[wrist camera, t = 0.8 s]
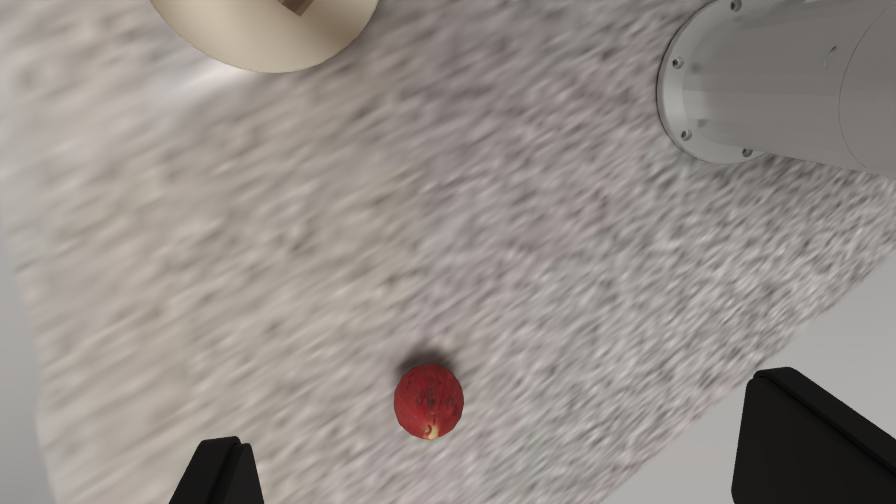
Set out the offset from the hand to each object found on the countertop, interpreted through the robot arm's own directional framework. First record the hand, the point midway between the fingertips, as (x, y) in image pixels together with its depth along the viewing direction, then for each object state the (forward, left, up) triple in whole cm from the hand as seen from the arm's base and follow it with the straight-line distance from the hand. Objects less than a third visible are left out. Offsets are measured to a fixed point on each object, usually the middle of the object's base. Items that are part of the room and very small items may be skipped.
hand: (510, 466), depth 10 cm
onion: (+13, +13, -33) cm, 37 cm away
